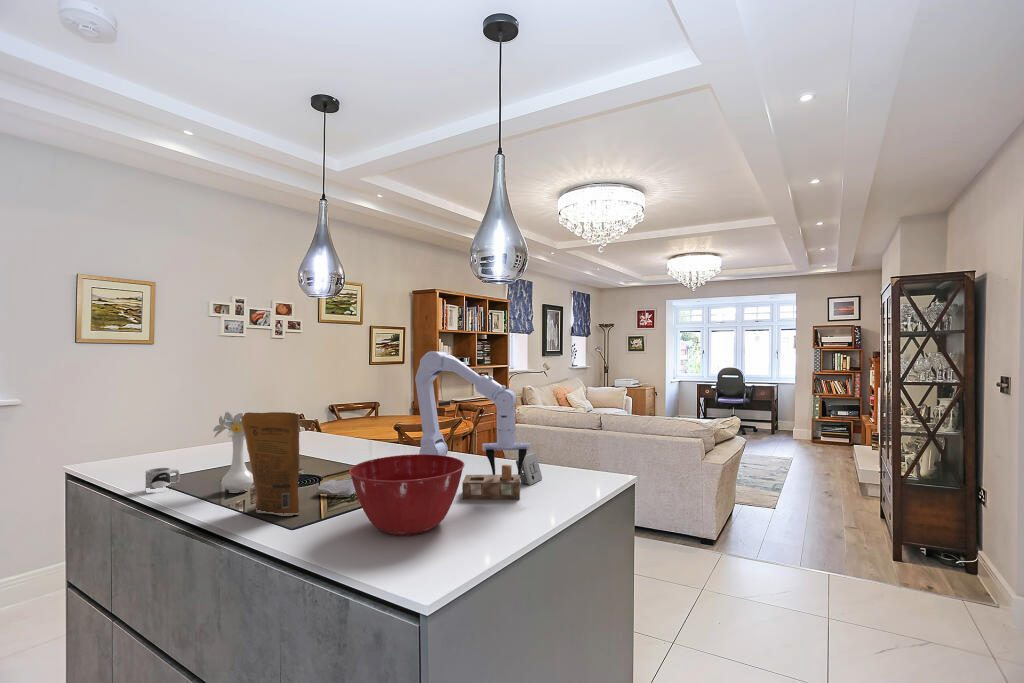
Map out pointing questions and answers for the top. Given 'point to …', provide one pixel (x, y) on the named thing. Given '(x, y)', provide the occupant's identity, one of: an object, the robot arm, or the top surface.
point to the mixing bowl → (407, 491)
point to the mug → (160, 477)
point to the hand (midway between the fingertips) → (506, 474)
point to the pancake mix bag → (274, 459)
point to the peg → (506, 472)
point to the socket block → (490, 487)
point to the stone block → (336, 487)
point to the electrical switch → (530, 469)
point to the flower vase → (235, 454)
